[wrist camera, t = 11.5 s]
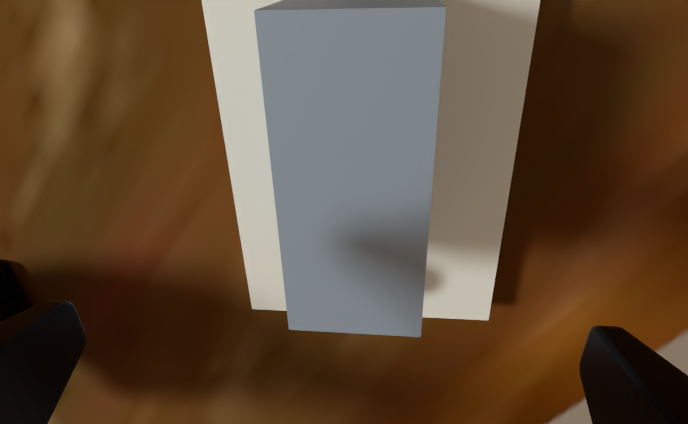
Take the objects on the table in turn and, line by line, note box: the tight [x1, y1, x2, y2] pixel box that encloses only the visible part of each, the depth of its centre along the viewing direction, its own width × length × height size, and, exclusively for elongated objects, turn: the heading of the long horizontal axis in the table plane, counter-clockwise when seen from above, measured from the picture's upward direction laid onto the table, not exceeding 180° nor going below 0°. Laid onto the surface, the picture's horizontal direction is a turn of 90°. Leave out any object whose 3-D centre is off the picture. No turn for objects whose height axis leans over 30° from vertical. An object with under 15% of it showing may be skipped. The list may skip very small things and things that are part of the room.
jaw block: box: [254, 0, 446, 337], centre depth 14 cm, size 4×9×6 cm, turn 1°
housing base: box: [202, 0, 540, 320], centre depth 16 cm, size 11×18×4 cm, turn 2°
